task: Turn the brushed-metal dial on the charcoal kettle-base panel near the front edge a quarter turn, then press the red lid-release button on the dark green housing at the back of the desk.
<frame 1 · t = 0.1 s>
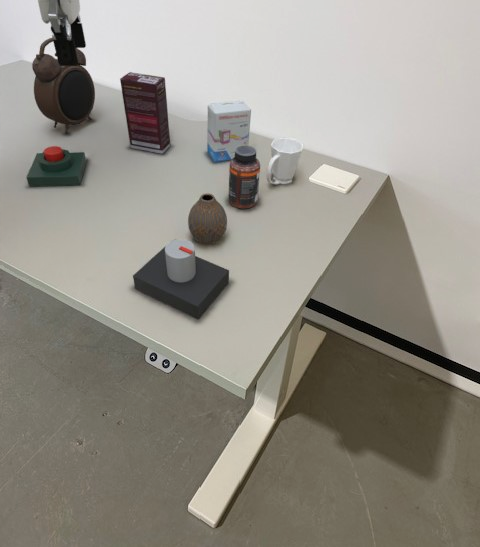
hand: (73, 55, 75), 23 cm above the table, tool pointing down, fingers open, 9 cm apart
lid button: (53, 154, 87), point 4 cm above the table, slide at 0.1 cm
cup: (279, 182, 92), on the table
supplement bottle: (242, 202, 85), on the table
dial: (180, 260, 63), point 6 cm above the table, hinge at 0.0°
vase: (207, 238, 77), on the table
lid housing: (59, 173, 90), on the table
supplement box: (150, 147, 100), on the table
ink box: (227, 156, 99), on the table
alarm clock: (75, 126, 106), on the table
dial panel: (182, 286, 67), on the table
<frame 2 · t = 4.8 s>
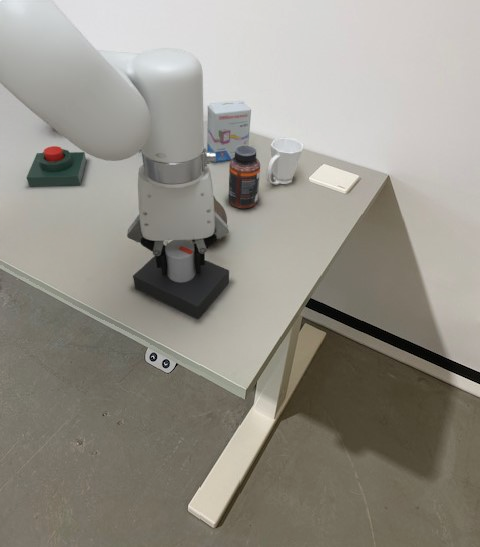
hand: (181, 267, 65), 4 cm above the table, tool pointing down, fingers closed on dial, 4 cm apart
dial: (180, 260, 63), point 6 cm above the table, hinge at -0.1°, touching gripper
everything else where it was.
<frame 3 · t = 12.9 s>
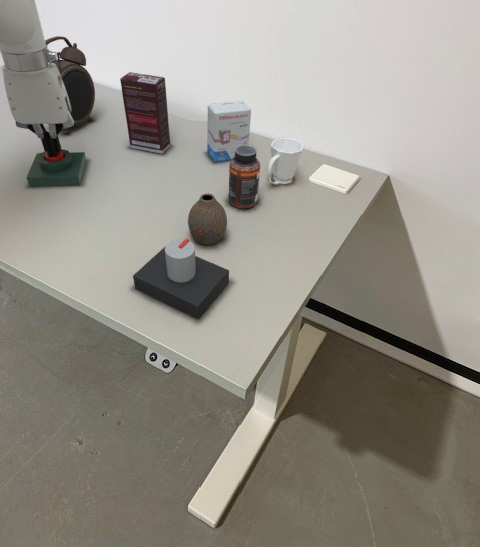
hand: (54, 153, 87), 5 cm above the table, tool pointing down, fingers closed
lid button: (54, 157, 87), point 4 cm above the table, slide at -0.7 cm, touching gripper
dial: (180, 260, 63), point 6 cm above the table, hinge at 91.7°
everything else where it was.
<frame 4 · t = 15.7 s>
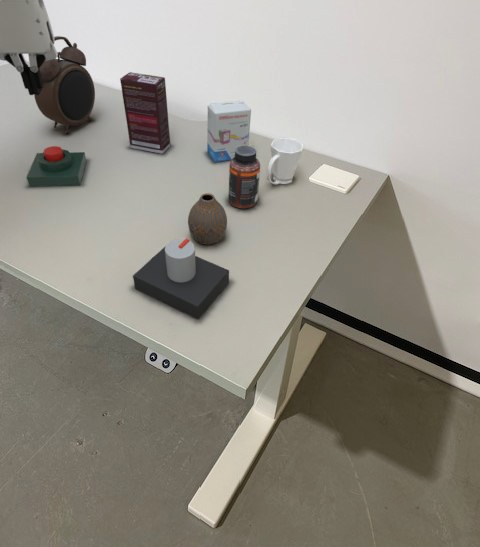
hand: (36, 92, 78), 17 cm above the table, tool pointing down, fingers closed
lid button: (53, 154, 87), point 4 cm above the table, slide at 0.1 cm
everything else where it was.
at the end: dial at +92° (first picture: +0°); lid button pushed in 1.1 cm at the most during the clip, back to where it started at the end; lid button slide at 0.1 cm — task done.
